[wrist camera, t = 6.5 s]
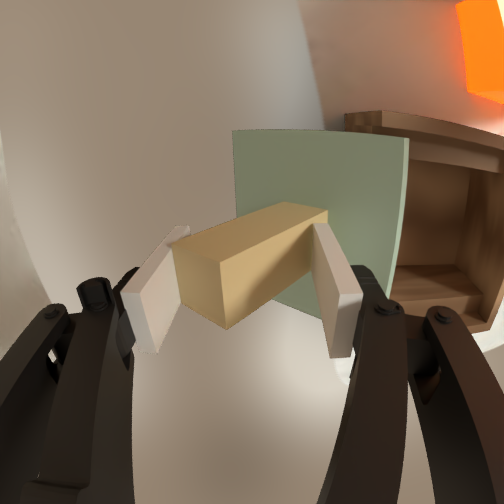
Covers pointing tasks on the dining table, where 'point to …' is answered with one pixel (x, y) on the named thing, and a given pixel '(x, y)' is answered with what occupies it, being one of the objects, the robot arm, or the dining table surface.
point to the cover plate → (333, 185)
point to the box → (447, 216)
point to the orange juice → (483, 46)
